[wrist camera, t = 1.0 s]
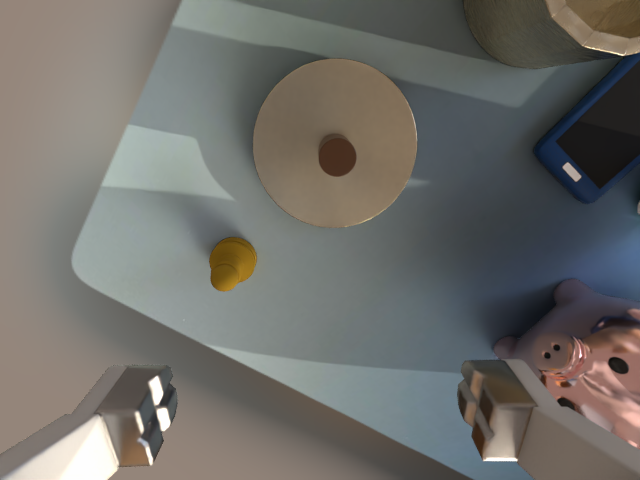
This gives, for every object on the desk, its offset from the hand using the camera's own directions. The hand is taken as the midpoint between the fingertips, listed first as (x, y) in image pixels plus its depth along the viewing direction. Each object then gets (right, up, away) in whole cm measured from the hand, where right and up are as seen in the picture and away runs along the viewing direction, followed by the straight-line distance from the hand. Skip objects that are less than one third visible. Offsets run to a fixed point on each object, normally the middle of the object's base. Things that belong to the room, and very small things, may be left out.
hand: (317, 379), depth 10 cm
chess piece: (-8, +2, +21) cm, 23 cm away
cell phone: (+24, +14, +17) cm, 33 cm away
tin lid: (+1, +11, +17) cm, 21 cm away
